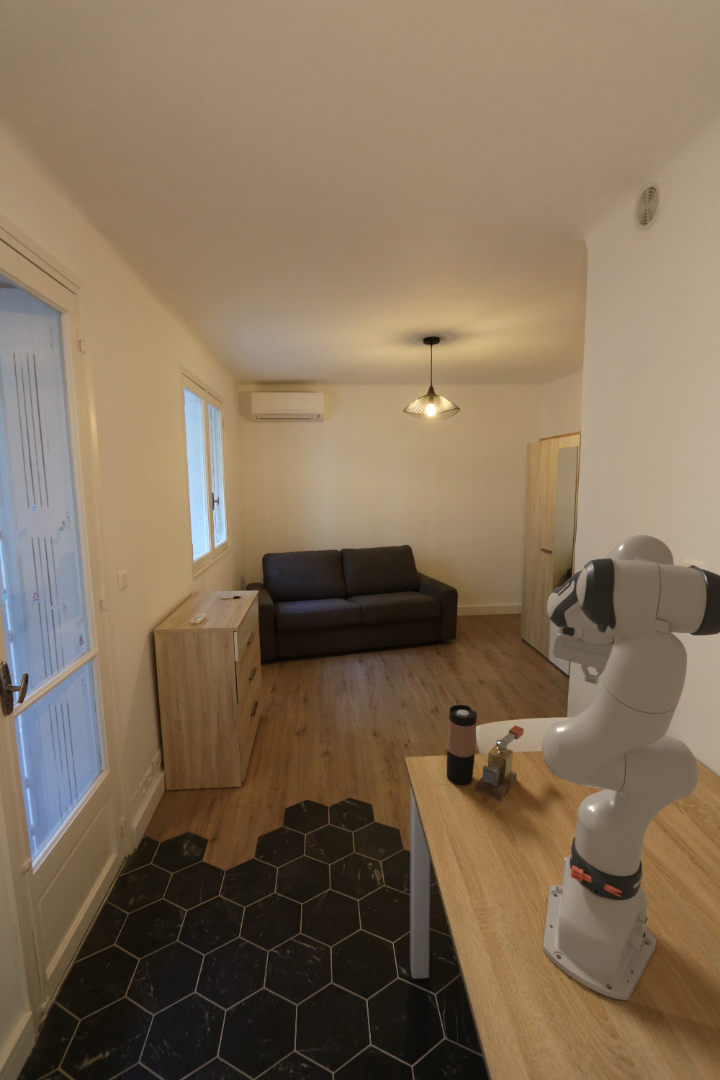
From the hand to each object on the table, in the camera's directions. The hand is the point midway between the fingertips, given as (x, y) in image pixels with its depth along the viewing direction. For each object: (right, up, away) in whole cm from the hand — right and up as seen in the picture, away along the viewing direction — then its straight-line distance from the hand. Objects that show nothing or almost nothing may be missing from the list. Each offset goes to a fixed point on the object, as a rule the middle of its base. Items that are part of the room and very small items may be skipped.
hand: (591, 682), depth 127 cm
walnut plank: (-24, -30, +5) cm, 39 cm away
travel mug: (-33, -30, +8) cm, 45 cm away
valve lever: (-19, -19, +9) cm, 28 cm away
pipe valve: (-24, -28, +5) cm, 37 cm away
